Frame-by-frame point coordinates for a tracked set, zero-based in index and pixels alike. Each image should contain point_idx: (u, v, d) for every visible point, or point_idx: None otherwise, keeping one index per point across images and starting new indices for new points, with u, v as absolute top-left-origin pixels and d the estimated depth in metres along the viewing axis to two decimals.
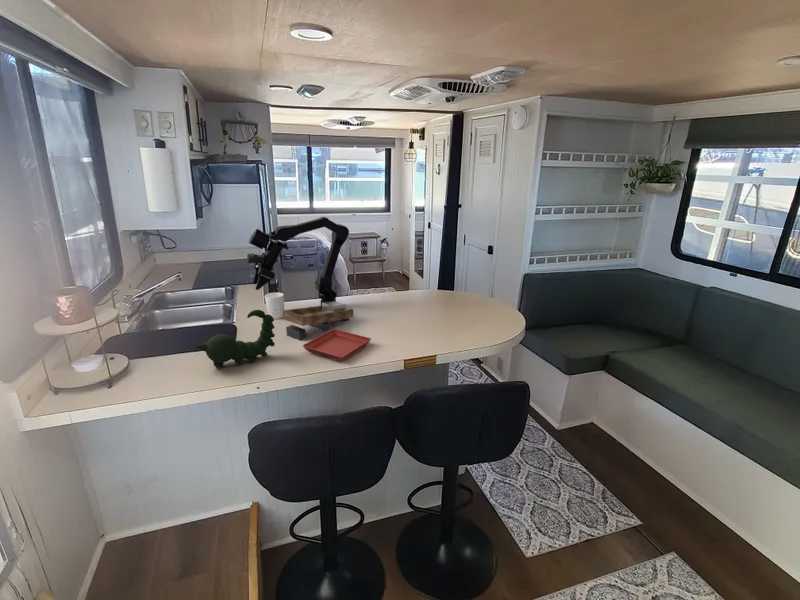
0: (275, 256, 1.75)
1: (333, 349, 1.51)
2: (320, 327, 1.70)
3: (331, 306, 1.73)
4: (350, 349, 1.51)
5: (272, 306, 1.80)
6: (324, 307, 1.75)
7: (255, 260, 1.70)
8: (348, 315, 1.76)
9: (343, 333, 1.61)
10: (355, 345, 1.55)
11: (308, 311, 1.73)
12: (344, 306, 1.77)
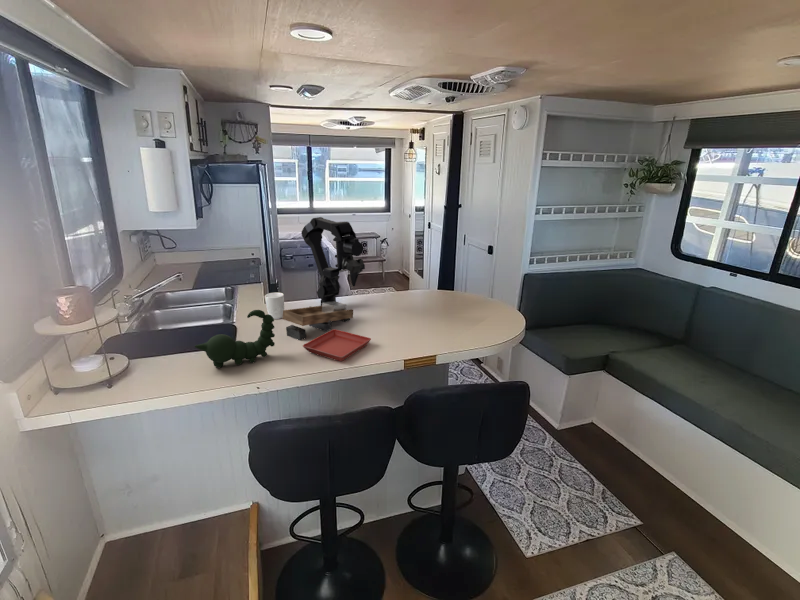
0: None
1: (333, 349, 1.51)
2: (320, 327, 1.70)
3: (331, 306, 1.73)
4: (350, 349, 1.51)
5: (272, 306, 1.80)
6: (324, 307, 1.75)
7: None
8: (348, 315, 1.76)
9: (343, 333, 1.61)
10: (355, 345, 1.55)
11: (308, 311, 1.73)
12: (344, 306, 1.77)
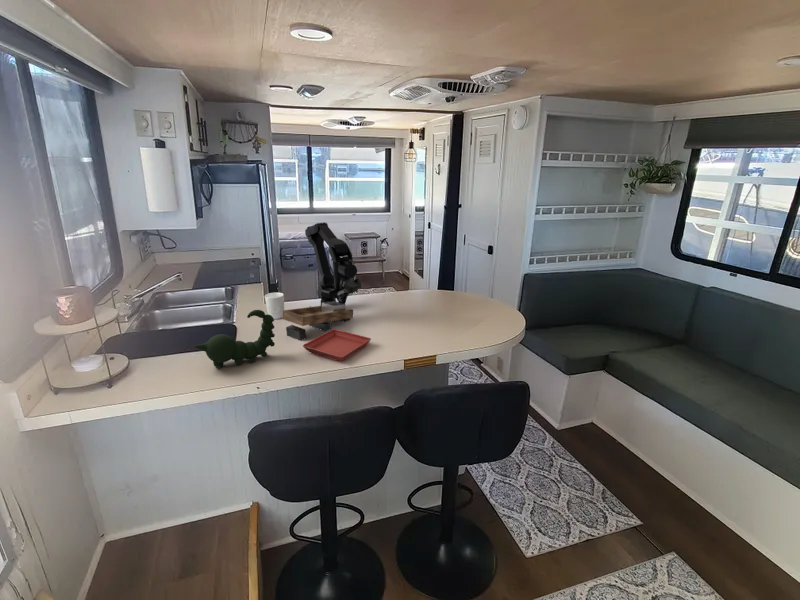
0: None
1: (333, 349, 1.51)
2: (320, 327, 1.70)
3: (331, 306, 1.73)
4: (350, 349, 1.51)
5: (272, 306, 1.80)
6: (324, 307, 1.75)
7: None
8: (348, 315, 1.76)
9: (343, 333, 1.61)
10: (355, 345, 1.55)
11: (308, 311, 1.73)
12: (344, 306, 1.77)
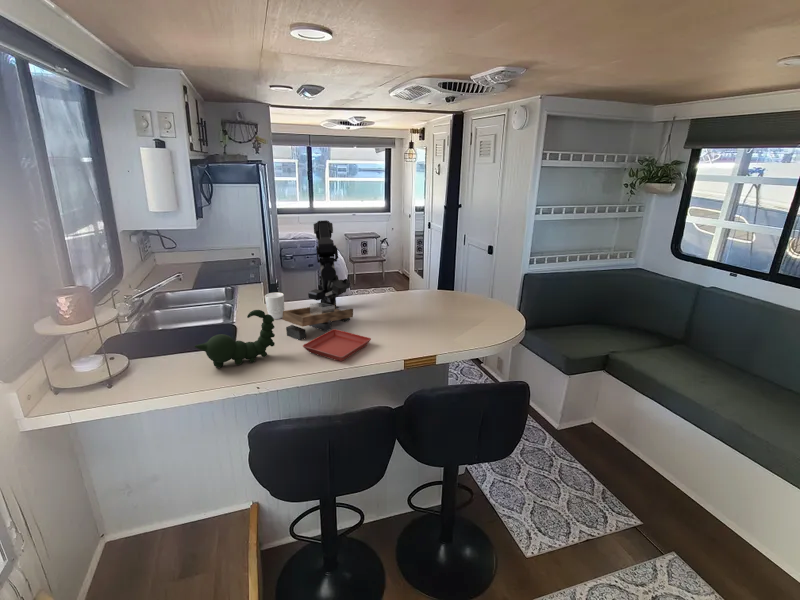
0: None
1: (333, 349, 1.51)
2: (320, 327, 1.70)
3: (319, 308, 1.68)
4: (350, 349, 1.51)
5: (272, 306, 1.80)
6: (312, 308, 1.70)
7: None
8: (348, 315, 1.76)
9: (343, 333, 1.61)
10: (355, 344, 1.55)
11: (308, 311, 1.73)
12: (333, 307, 1.72)
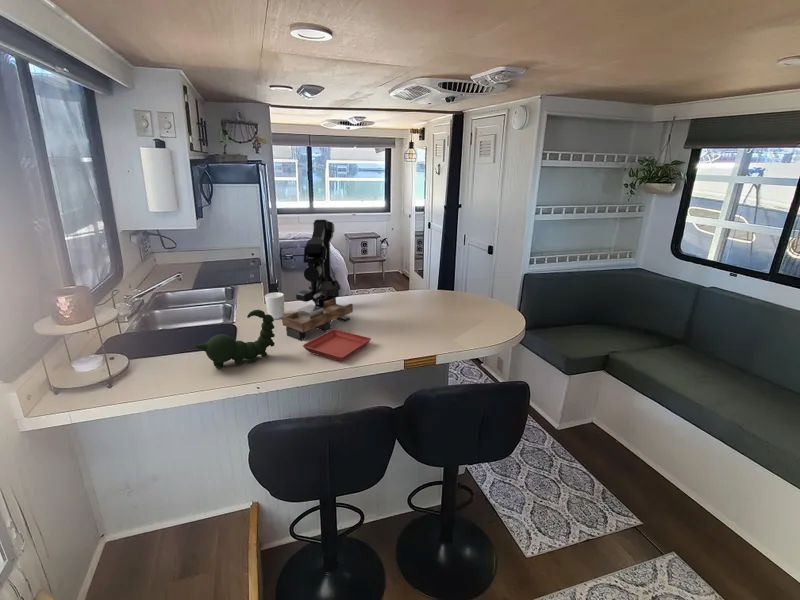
0: None
1: (333, 349, 1.51)
2: (320, 327, 1.70)
3: (307, 313, 1.63)
4: (350, 349, 1.51)
5: (272, 306, 1.80)
6: (300, 314, 1.66)
7: None
8: (348, 311, 1.76)
9: (343, 333, 1.61)
10: (355, 344, 1.55)
11: None
12: (321, 310, 1.67)
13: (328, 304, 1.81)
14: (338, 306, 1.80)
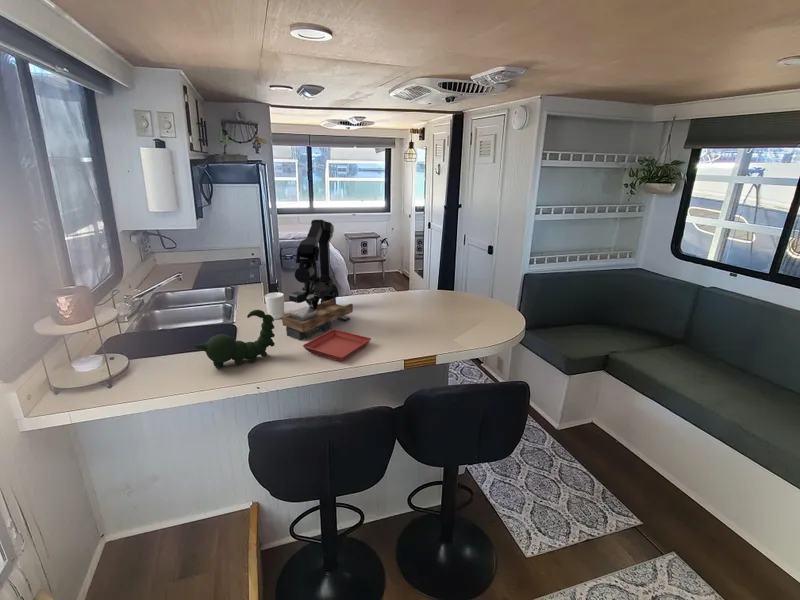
0: None
1: (333, 349, 1.51)
2: (320, 327, 1.70)
3: (300, 315, 1.61)
4: (350, 349, 1.51)
5: (272, 306, 1.80)
6: (294, 316, 1.64)
7: None
8: (348, 311, 1.76)
9: (343, 333, 1.61)
10: (355, 344, 1.55)
11: None
12: (315, 312, 1.65)
13: (328, 304, 1.81)
14: (338, 306, 1.80)
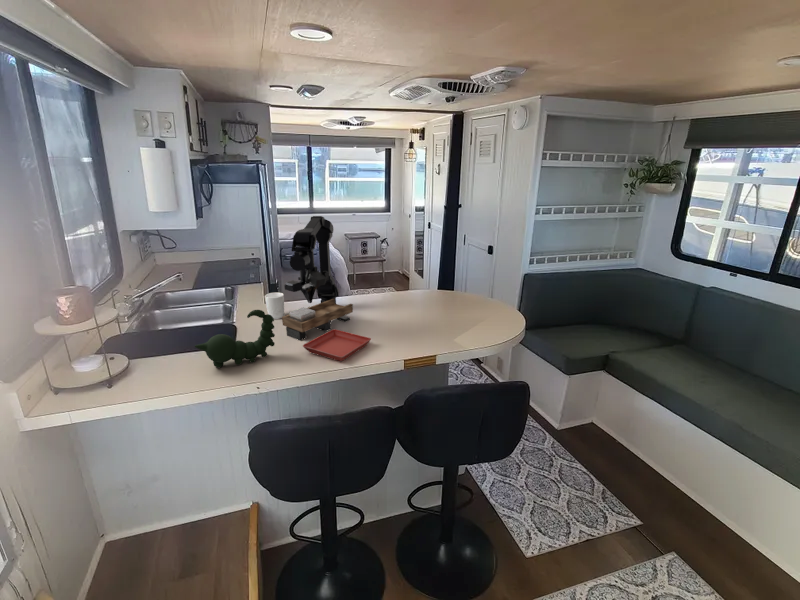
0: None
1: (333, 349, 1.51)
2: (320, 327, 1.70)
3: (298, 316, 1.60)
4: (350, 349, 1.51)
5: (272, 306, 1.80)
6: (292, 317, 1.63)
7: None
8: (348, 311, 1.76)
9: (343, 333, 1.61)
10: (355, 345, 1.55)
11: None
12: (313, 313, 1.64)
13: (328, 304, 1.81)
14: (338, 306, 1.80)
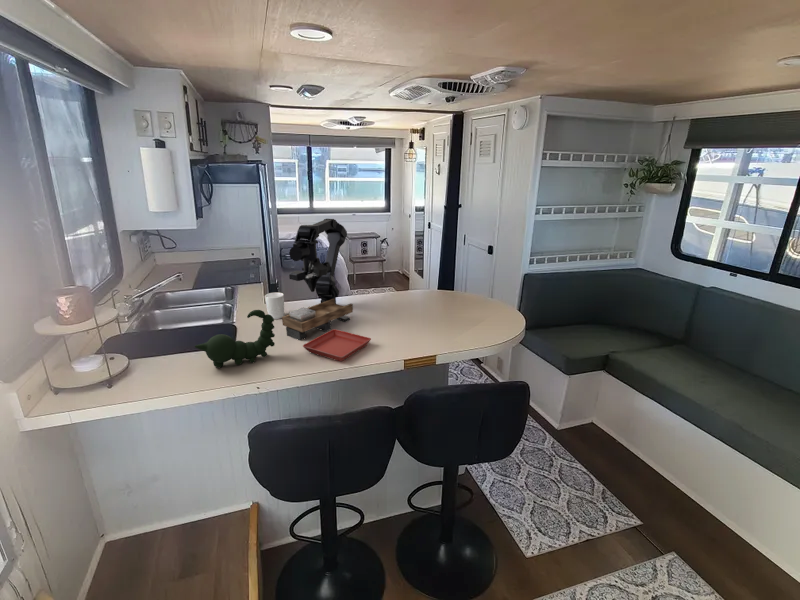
0: None
1: (333, 349, 1.51)
2: (320, 327, 1.70)
3: (298, 316, 1.60)
4: (350, 349, 1.51)
5: (272, 306, 1.80)
6: (292, 317, 1.63)
7: None
8: (348, 311, 1.76)
9: (343, 333, 1.61)
10: (355, 344, 1.55)
11: None
12: (313, 313, 1.64)
13: (328, 304, 1.81)
14: (338, 306, 1.80)
